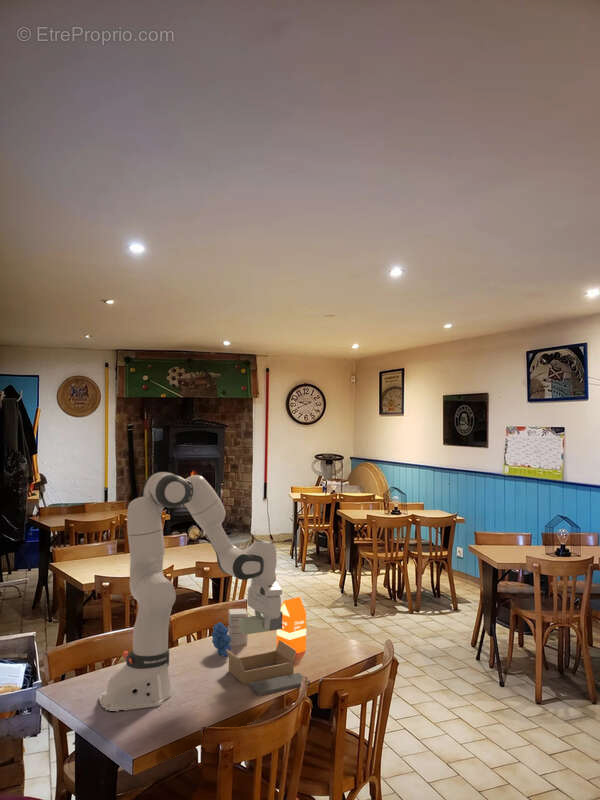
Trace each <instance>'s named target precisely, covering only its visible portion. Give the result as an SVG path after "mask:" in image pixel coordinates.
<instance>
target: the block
mask: <svg viewBox="0 0 600 800" xmlns="http://www.w3.org/2000/svg"><path fill="white" fill-rule="evenodd" d="M282 618H283V612H282V611H281V613H280V616H279V618H277V619H271V621H270V623H269V628H265V627H263V622H264V621H265V618H264V615H263V614H261V615H259V616H255V615H252V616H248V617H244V618H239V632H241V633H242V634H244V635H246V634H247V635H251V634H260V633H264V632H272V631H277V630H279V629H282Z"/></svg>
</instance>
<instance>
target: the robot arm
mask: <svg viewBox="0 0 600 800" xmlns="http://www.w3.org/2000/svg"><path fill="white" fill-rule="evenodd" d="M182 505H184V506H185V507H186V509H187V511H188V512H189V513H190V515H191V517H192V519H193V520H194V521H195V522H196V524H197V525H198V526H199V528H201V530H202V531H203V532H204V534H205V535H206V537H207V539H208V541H209V542H210V544H211V547H212V548H213V550H214V551H215V555H216V561H217V565H218V567H219V570H220V571H221V572H222V573H224V574H226V575H230V576H231V577H234V578H236V579H238V580H243V581H245V580H251V583H250V586H249V587H248V590H247V599H246V601H247V606H248V607H249V608H252V609H253V610H254V611H253V612H254V616H259V615H264V618H265V621H264V622H263V627H265V628H269V623H270V621H271V619H277V618H279V616H280V613H281V605H282V598H281V596H282V595H283V590H282V588H281V587H280V585H279V583H278V582H277V575H276V569H277V548H276V545H275V544H274V543H273V542H271V541H269V540H264V539H255V540H254V542H253V543H251V544H250V545H249V546H247V547H246V548H243V549H242V548H239V547H238V546H236V545H234V544H233V543H232V542H231V541H230V538H229V537H228V535H227V533H226V532H225V529H224V528H223V524H222V523H223V522H224V521H225V518H226V508H225V506H224V504H223V502H222V500H221V498H220V497H219V495H218V494H217V492H216V491H215V489H214V488H213V487H212V485H211V484H210V483H209V482H208V481H207V480H206V479H205V477H203V476H202V475H201V474H200V475H199V474H193V475H190V476H188V477H187V478H184V477H182V476H180V475H178V474H177V475H176V474H174V473H173V472H168V471H157V472H154V473H152V474H150V475H149V476H148V477H147V478H146V479H145V482H144V484H143V487H142V490H141V492H140V495H139V497H136V498H134V499H133V500H131V501H130V502H129V504H128V506H127V513H126V514H127V515H126V530H127V536H128V547H129V559H130V564H129V585H128V586H129V591H130V594H131V596H132V597H133V598H134V600H136V602H137V614H136V618H135V619H136V620H135V623H134V625H133V627H132V628H133V634H132V637H133V638H132V650H131V651H130V652H128V650H125V651H123V653H122V654H121V655H122V657H123V659H124V660H125V661H126V664H124V665H123V666H122V667H121V668H120V669H119V670H118V671H116V672H115V673H114V674H113V675H112V676H111V677H110V678H109V680H108V681H107V682H108V683H107V687H106V688H107V689H106V690H105V691H102V692H101V694H100V695H99V697H98V698H99V699H98V702H100V703H99V705H100V704H101V705H100V706H102V707H103V708H105V709H107V710H109V711H116V712H120V711H119V710H124V711H129V710H138V709H146V708H154V707H159V706H161V705H162V704H163V703H164V701H166V700H167V699H169V698H171V696H172V693H173V690H172V688H171V683H170V677H169V665H170V648H169V624H170V623H169V622H170V618H171V615H172V613H171V612H172V608H173V606H174V604H175V602H176V599H177V594H176V589H175V587H174V584H173V583H172V581H170V579H168V578H167V577H165V573H164V571H163V570H164V566H163V565H164V556H165V554H166V550H165V540H164V531H163V524H162V516H163V515H162V514H163V511H164V509H165V507H166V508H169V509H173V508H177V507H180V506H182ZM102 707H101V708H102ZM103 708H102V709H103ZM105 709H104V710H105ZM107 710H106V711H107ZM109 711H108V712H109Z"/></svg>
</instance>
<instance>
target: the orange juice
mask: <svg viewBox="0 0 600 800" xmlns="http://www.w3.org/2000/svg"><path fill="white" fill-rule="evenodd" d="M281 611H282V612H283V618H282V629H279V630H276V646H277V645H278V642H279V640H281V641H282V642H284V643H285V644H287V645H288V646H290V647H292V648H293V649H295V650H296V653H297V654H299V653H303V652H306V651H307V611H306V609H305V607H304V604H303V601H302V599H301V597H300V596H299V597H294V598H290V599H286V600H285V599H284V600H283V601H282V602H281ZM305 650H306V651H305ZM302 651H303V652H302Z"/></svg>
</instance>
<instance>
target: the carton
mask: <svg viewBox="0 0 600 800" xmlns="http://www.w3.org/2000/svg"><path fill="white" fill-rule="evenodd" d="M226 652H227V655H228V656H227V657H228V672H229V673H231V674H232V675H233V676H234V677H235V678H236V679H237V680H238V681H239V682H240V683H242V684H243V685H246V684H247V685H249V683H253V682H258V681H263V680H267V679H272V678H277V677H281V676H286V675H291V674H295V673H294V668H295V667H294V660H295V657H296V650H295V649H293V648H292V647H290V646H288V645H287V644H285V643H284V642H282V641H281V640H279V642H278V645H277V644H276V649H275V650H272V651H268V652H267V651H266V652H261V653H256V654H251V655H250V654H249V655H246V656H245V655H244V656H240V657H237V655H235V654H234V653H233V652H231V651H229V650H228V649H226ZM274 663H276V664H275V665H270V664H274ZM268 664H269V666H264V665H268ZM257 666H264V667H261V668H255V669H250V670H245V669H247V668H248V669H249V668H253V667H257Z"/></svg>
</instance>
